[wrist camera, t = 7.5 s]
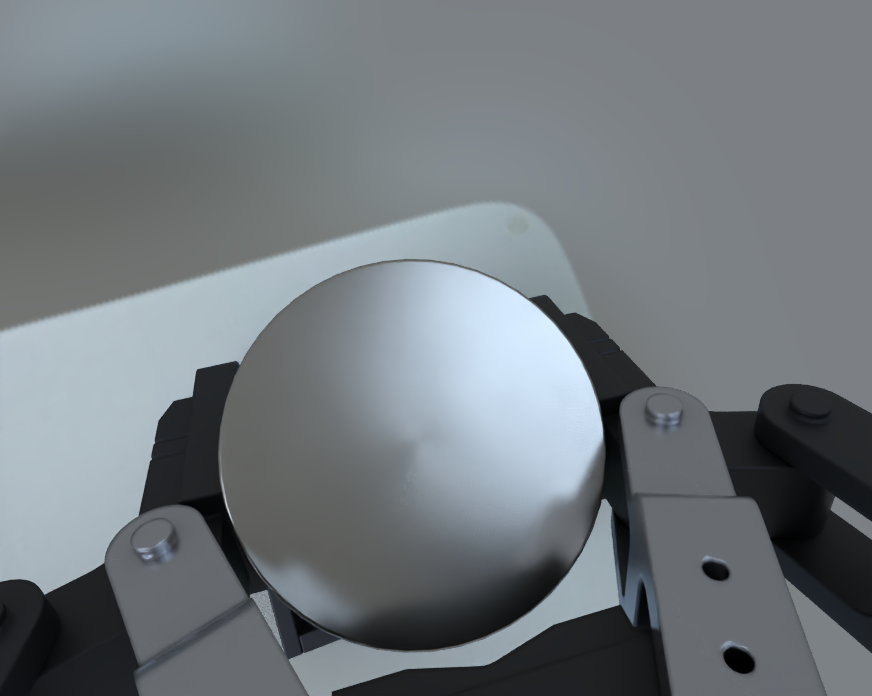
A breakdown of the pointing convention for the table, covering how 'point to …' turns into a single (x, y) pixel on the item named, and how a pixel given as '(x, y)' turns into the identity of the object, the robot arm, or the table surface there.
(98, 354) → the table surface
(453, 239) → the table surface
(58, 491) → the table surface
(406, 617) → the tin
